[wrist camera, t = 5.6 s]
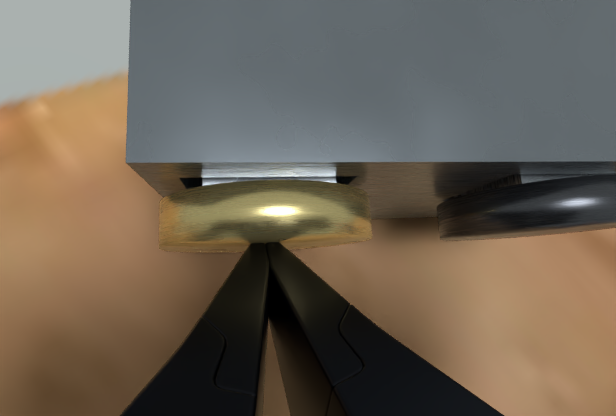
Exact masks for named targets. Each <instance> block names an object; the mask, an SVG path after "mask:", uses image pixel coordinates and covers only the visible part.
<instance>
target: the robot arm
mask: <svg viewBox="0 0 616 416" xmlns="http://www.w3.org/2000/svg"><path fill="white" fill-rule="evenodd" d="M268 318H269V323H270V327H271V332H272V336H273V340H274V345H275V349H276V354H277V358H278V362H279V367H280V371H281V375H282V380H283V384H284V388H285V393H286V397H287V402H288V406H289V410H290V415H291V416H504V415H503V414H501V413H500V412H498V411H497V410H495V409H494V408H493V407H491V406H490V405H488V404H487V403H486V402H484V401H483V400H481V399H480V398H478V397H477V396H476V395H474V394H473V393H471V392H470V391H468V390H467V389H466V388H464V387H463V386H461V385H460V384H458V383H457V382H456V381H454V380H453V379H451V378H450V377H449V376H447V375H446V374H444V373H443V372H441V371H440V370H439V369H437V368H436V367H434V366H433V365H431V364H430V363H429V362H427V361H426V360H424V359H423V358H421V357H420V356H419V355H417V354H416V353H414V352H413V351H411V350H410V349H409V348H407V347H406V346H404V345H403V344H402V343H400V342H399V341H397V340H396V339H394V338H393V337H392V336H390V335H389V334H388V333H386V332H385V331H384V330H382V329H381V328H380V327H378V326H377V325H376V324H374V323H373V322H372V321H371V320H369V319H368V318H367V317H366V316H365V315H363V314H362V313H361V312H360V311H359V310H357V309H356V308H355V307H354V306H353V305H350V303H349V302H348V301H346V300H345V299H344V298H343V297H342V296H341V295H340V294H338V293H337V292H336V291H335V290H334V289H333V288H332V287H330V286H329V285H328V284H327V283H326V282H325V281H324V280H322V279H321V278H320V277H319V276H318V275H317V274H316V273H314V272H313V271H312V270H311V269H310V268H309V267H307V266H306V265H305V264H304V263H303V262H302V261H301V260H299V259H298V258H297V257H296V256H295V255H294V254H293V253H291V252H290V251H289V250H288V249H287V248H286V247H285V246H283V245H282V244H281V243H280V242H267V243H251V244H250V245H249V246H248V248H247V249H246V251H245V252H244V254H243V255H242V257H241V258H240V260H239V261H238V263H237V264H236V266H235V267H234V269H233V270H232V272H231V273H230V275H229V276H228V278H227V279H226V281H225V282H224V284H223V285H222V287H221V288H220V289H219V291H218V292H217V294H216V295H215V297H214V298H213V300H212V301H211V303H210V304H209V306H208V307H207V309H206V310H205V312H204V313H203V315H202V316H201V318H200V319H199V320H198V321H197V323H196V324H195V326H194V327H193V329H192V330H191V332H190V333H189V334H188V336H187V337H186V339H185V340H184V341H183V343H182V344H181V345H180V347H179V348H178V349H177V350H176V351H175V353H174V354H173V355H172V356H171V357H170V359H169V360H168V361H167V362H166V363H165V364H164V366H163V367H162V368H161V369H160V370H159V371H158V372H157V374H156V375H155V376H154V377H153V378H152V379H151V380H150V382H149V383H148V384H147V385H146V386H145V387H144V388H143V390H142V391H141V392H140V393H139V394H138V395H137V396H136V397H135V399H134V400H133V401H132V402H131V403H130V404H129V405H128V407H127V408H126V409H125V410H124V411H123V412H122V413H121V415H120V416H262V414H263V398H264V382H265V367H266V351H267V335H268Z"/></svg>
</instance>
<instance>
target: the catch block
mask: <svg viewBox="0 0 616 416" xmlns="http://www.w3.org/2000/svg"><path fill="white" fill-rule="evenodd" d="M129 42H130V43H129V74H128V106H127V139H126V163H127V164H128V165H129V166H130V167H131V168H132V169H133V170H134V171H135V172H136V173H138V174H139V175H140V176H141V177H142V178H143V179H144V180H145V181H146V182H147V183H148V184H149V185H150V186H152V187H153V188H154V189H155V190H156V191H157V192H158V193H159V194H160V195H161V196H162V197H163V198H164V197H165V196H168V195H170V194H172V193H175V192H178V191H181V190H186V189H190V188H194V187H200V186H202V178H217V177H315V176H336V183H340V184H345V185H350V186H354V187H357V188H360V189H362V190H364V191H365V192H367V193H368V195H369V205H370V216H371V219H389V218H419V217H438V216H437V208H436V207H437V206H438V205H439V204H440V203H442V202H445V201H447V200H450V199H453V198H454V196H456V195H458V194H461V193H464V192H467V191H469V190H472V189H475V188H478V187H480V186H483V185H486V184H489V183H492V182H494V181H497V180H500V179H503V178H505V177H508V176H511V175H514V174H609V173H616V0H131V8H130V41H129Z"/></svg>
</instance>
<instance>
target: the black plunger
mask: <svg viewBox="0 0 616 416" xmlns="http://www.w3.org/2000/svg"><path fill="white" fill-rule="evenodd" d="M436 208H437V216H438V224H439V232H440V239H441V240H446V241H461V240H485V239H501V238H516V237H528V236H540V235H552V234H563V233H573V232H583V231H592V230H601V229H609V228H616V173H609V174H514V175H511V176H508V177H505V178H503V179H500V180H497V181H494V182H492V183H489V184H486V185H483V186H480V187H478V188H475V189H472V190H469V191H467V192H464V193H461V194H458V195H456V196H454V198H453V199H450V200H447V201H445V202H442V203H440V204H439V205H438V206H437V207H436Z"/></svg>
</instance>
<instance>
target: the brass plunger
mask: <svg viewBox="0 0 616 416" xmlns="http://www.w3.org/2000/svg"><path fill="white" fill-rule="evenodd" d="M370 239H372V227H371V216H370V205H369V195H368V193H367V192H365V191H364V190H362V189H360V188H357V187H354V186H350V185H345V184H340V183H336V176H315V177H217V178H202V186H200V187H194V188H190V189H186V190H181V191H178V192H175V193H172V194H170V195H168V196H165V197H164V198H163V199H161V201H160V202H159V249H160V250H164V251H172V252H196V253H216V252H245V251H246V249H247V248H248V246H249V245H250V244H251V243H267V242H280V243H281V244H282V245H283V246H285V247H286V248H287V249H288V250H290V249H304V248H316V247H326V246H336V245H344V244H351V243H358V242H363V241H367V240H370Z"/></svg>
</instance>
